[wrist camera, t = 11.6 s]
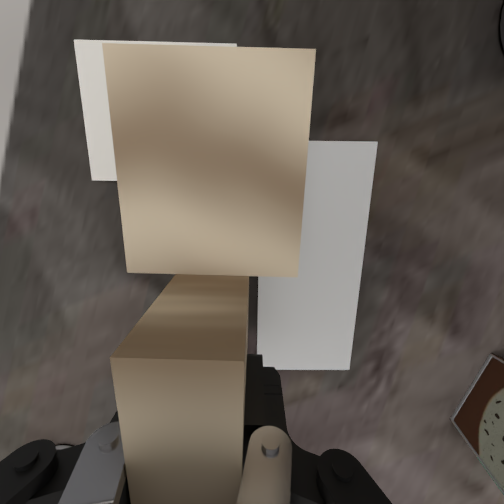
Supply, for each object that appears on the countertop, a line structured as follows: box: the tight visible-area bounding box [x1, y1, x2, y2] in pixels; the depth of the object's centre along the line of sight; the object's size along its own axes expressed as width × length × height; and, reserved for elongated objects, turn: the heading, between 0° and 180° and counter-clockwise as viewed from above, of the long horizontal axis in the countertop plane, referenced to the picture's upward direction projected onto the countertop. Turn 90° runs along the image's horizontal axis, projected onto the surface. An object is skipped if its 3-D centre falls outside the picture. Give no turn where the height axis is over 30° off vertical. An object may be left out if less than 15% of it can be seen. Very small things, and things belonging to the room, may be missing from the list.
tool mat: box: [257, 141, 378, 370], centre depth 26 cm, size 10×23×1 cm, turn 179°
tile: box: [74, 40, 237, 181], centre depth 22 cm, size 12×2×10 cm
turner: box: [102, 43, 316, 504], centre depth 9 cm, size 20×7×6 cm, turn 178°
